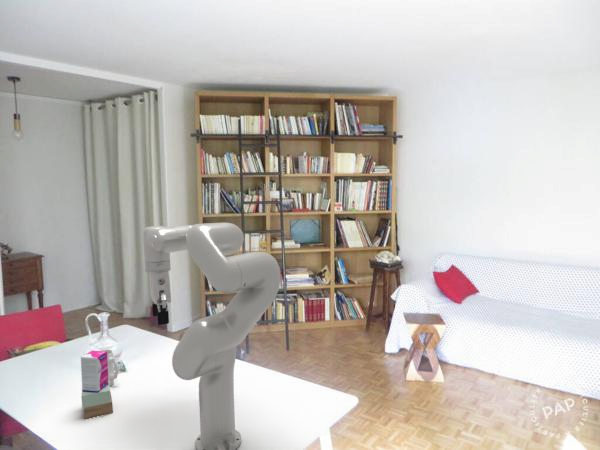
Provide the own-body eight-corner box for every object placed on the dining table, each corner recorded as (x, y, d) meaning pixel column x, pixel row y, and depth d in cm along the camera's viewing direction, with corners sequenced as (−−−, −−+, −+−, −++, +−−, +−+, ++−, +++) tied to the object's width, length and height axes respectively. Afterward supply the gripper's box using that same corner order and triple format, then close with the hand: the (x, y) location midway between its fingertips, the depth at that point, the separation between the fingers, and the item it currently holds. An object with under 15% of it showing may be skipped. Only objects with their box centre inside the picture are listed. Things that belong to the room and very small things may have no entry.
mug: (90, 387, 157) (88, 355, 155) (104, 379, 163) (102, 348, 162) (112, 391, 153) (110, 358, 152) (125, 383, 159) (124, 351, 158)
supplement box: (98, 393, 136) (96, 357, 135) (81, 391, 137) (79, 357, 136) (109, 384, 142) (107, 350, 141) (93, 383, 143) (91, 349, 142)
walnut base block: (113, 413, 139) (112, 401, 138) (85, 420, 135) (84, 408, 135) (111, 402, 146) (110, 391, 145) (84, 408, 142) (83, 397, 142)
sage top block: (110, 402, 138) (109, 390, 138) (82, 408, 135) (81, 396, 134) (110, 391, 145) (109, 380, 145) (83, 396, 142) (82, 385, 142)
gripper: (175, 269, 128) (178, 325, 130) (165, 260, 144) (167, 310, 145) (149, 272, 125) (152, 329, 127) (141, 262, 140) (144, 314, 142)
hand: (160, 319), depth 136 cm, fingers open, 9 cm apart
